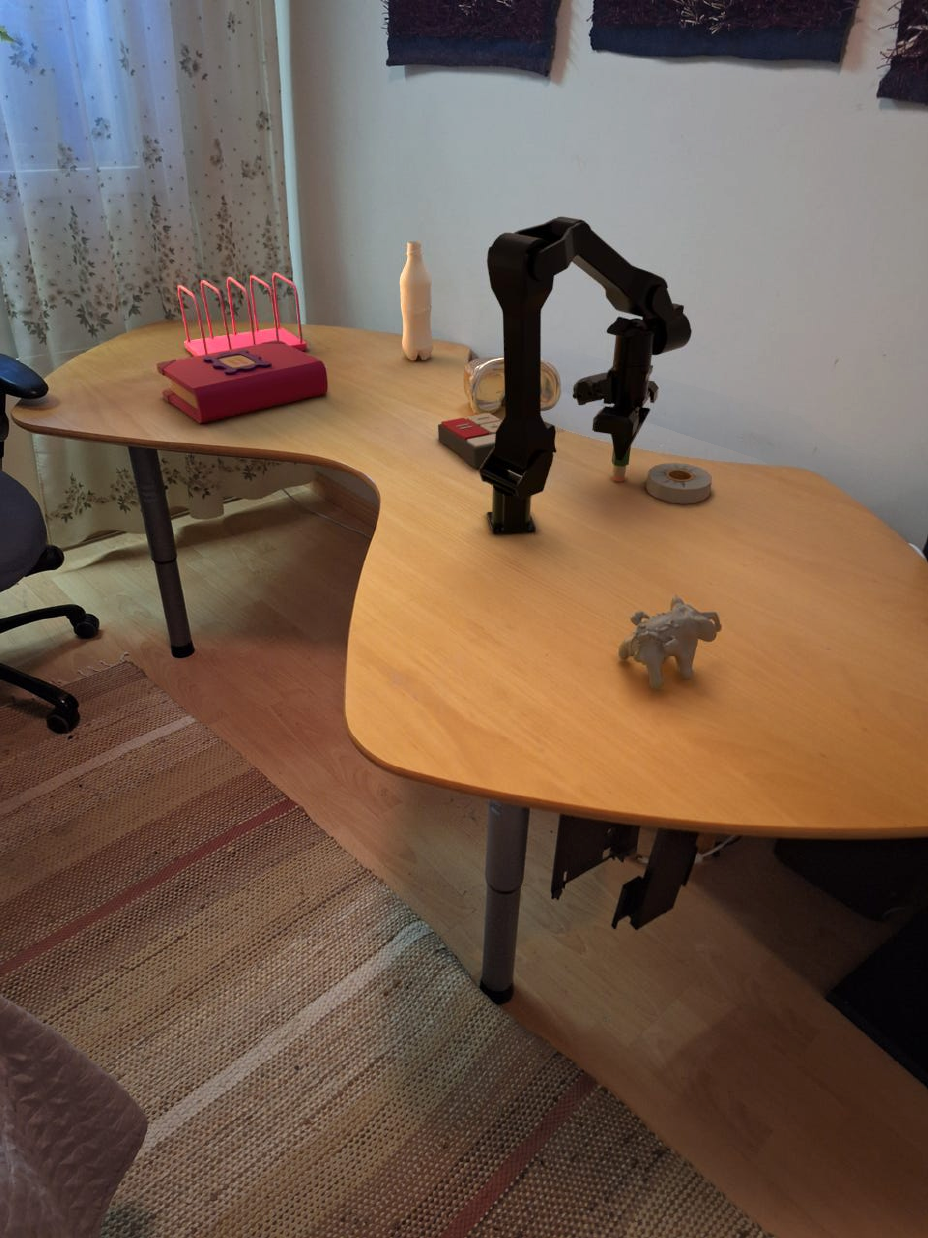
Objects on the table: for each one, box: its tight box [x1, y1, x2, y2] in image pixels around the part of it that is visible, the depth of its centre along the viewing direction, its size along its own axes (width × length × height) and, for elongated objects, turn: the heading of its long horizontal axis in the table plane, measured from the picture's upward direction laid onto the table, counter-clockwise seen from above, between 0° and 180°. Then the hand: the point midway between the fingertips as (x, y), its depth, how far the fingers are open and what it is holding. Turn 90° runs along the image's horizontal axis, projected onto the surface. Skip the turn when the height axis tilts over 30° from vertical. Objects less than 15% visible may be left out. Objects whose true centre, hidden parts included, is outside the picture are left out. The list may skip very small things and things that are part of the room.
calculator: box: [437, 413, 502, 469], centre depth 143 cm, size 11×4×15 cm
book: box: [156, 340, 329, 424], centre depth 165 cm, size 21×28×8 cm
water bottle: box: [399, 240, 434, 361], centre depth 182 cm, size 7×7×25 cm
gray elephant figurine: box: [618, 593, 723, 691], centre depth 90 cm, size 9×12×8 cm
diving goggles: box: [463, 356, 562, 415], centre depth 157 cm, size 18×11×14 cm, turn 101°
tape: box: [645, 462, 713, 505], centre depth 129 cm, size 10×10×3 cm
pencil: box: [611, 445, 632, 483], centre depth 130 cm, size 2×3×12 cm
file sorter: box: [177, 272, 308, 357], centre depth 190 cm, size 17×25×16 cm
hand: (621, 456), depth 131 cm, fingers closed on pencil, 2 cm apart
